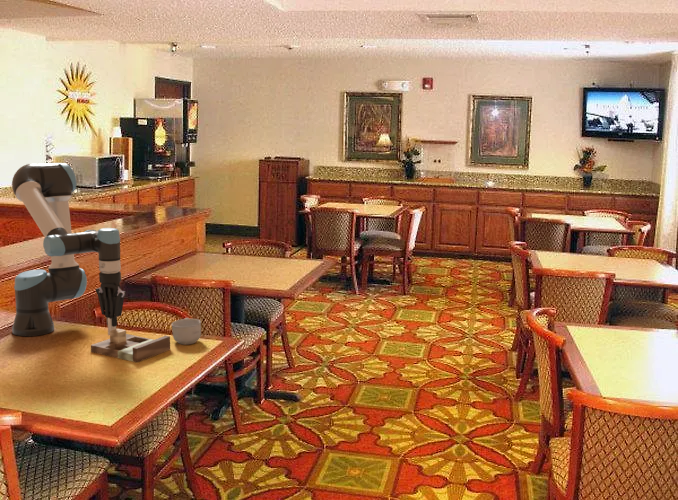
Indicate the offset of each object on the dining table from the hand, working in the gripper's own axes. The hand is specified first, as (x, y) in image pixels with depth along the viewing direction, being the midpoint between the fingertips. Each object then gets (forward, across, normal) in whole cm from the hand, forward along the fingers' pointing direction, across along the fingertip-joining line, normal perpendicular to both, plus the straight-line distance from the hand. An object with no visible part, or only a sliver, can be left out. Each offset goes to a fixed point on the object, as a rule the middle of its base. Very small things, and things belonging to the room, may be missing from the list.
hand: (112, 334), depth 276 cm
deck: (+5, +9, 0) cm, 10 cm away
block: (+2, +3, 0) cm, 3 cm away
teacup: (+5, +18, +20) cm, 28 cm away
